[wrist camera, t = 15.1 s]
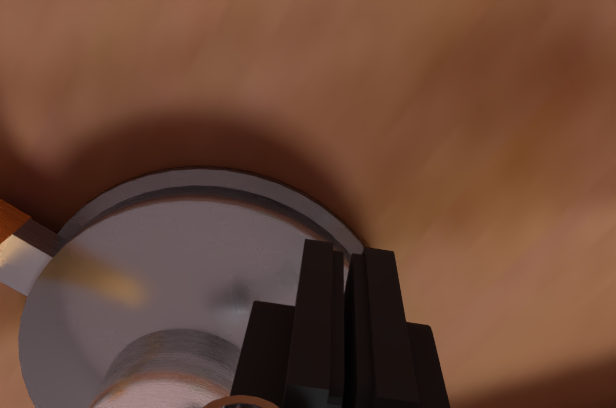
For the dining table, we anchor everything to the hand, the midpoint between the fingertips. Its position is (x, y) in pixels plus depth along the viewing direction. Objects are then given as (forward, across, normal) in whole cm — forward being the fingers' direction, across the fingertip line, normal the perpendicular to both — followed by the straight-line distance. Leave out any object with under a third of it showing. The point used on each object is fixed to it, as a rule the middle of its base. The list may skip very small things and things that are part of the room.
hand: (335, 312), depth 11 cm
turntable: (+10, +5, +8) cm, 14 cm away
